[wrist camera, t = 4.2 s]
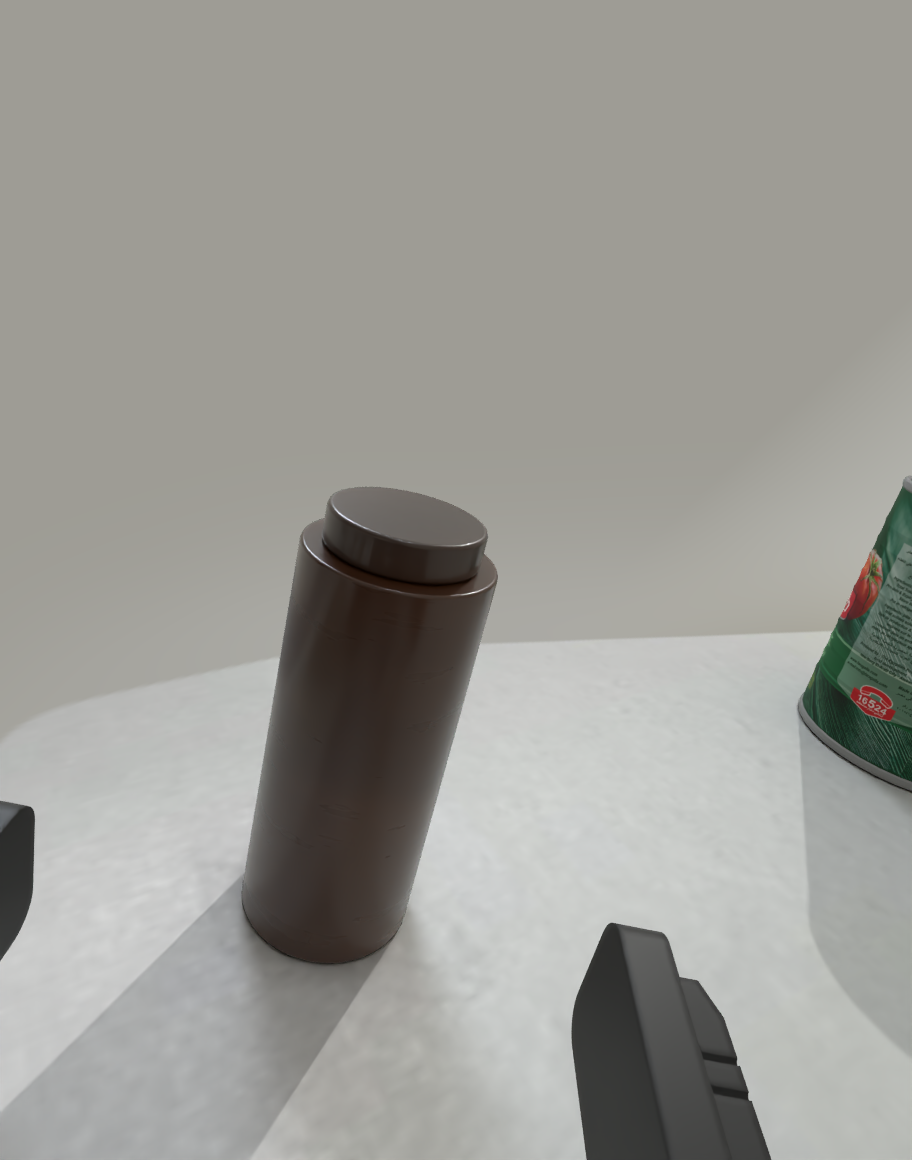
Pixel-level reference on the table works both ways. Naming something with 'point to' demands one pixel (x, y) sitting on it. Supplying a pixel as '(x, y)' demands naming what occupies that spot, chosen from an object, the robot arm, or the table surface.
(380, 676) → the pepper mill
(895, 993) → the table surface
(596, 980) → the robot arm
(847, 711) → the canned tomato
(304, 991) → the table surface
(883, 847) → the table surface
